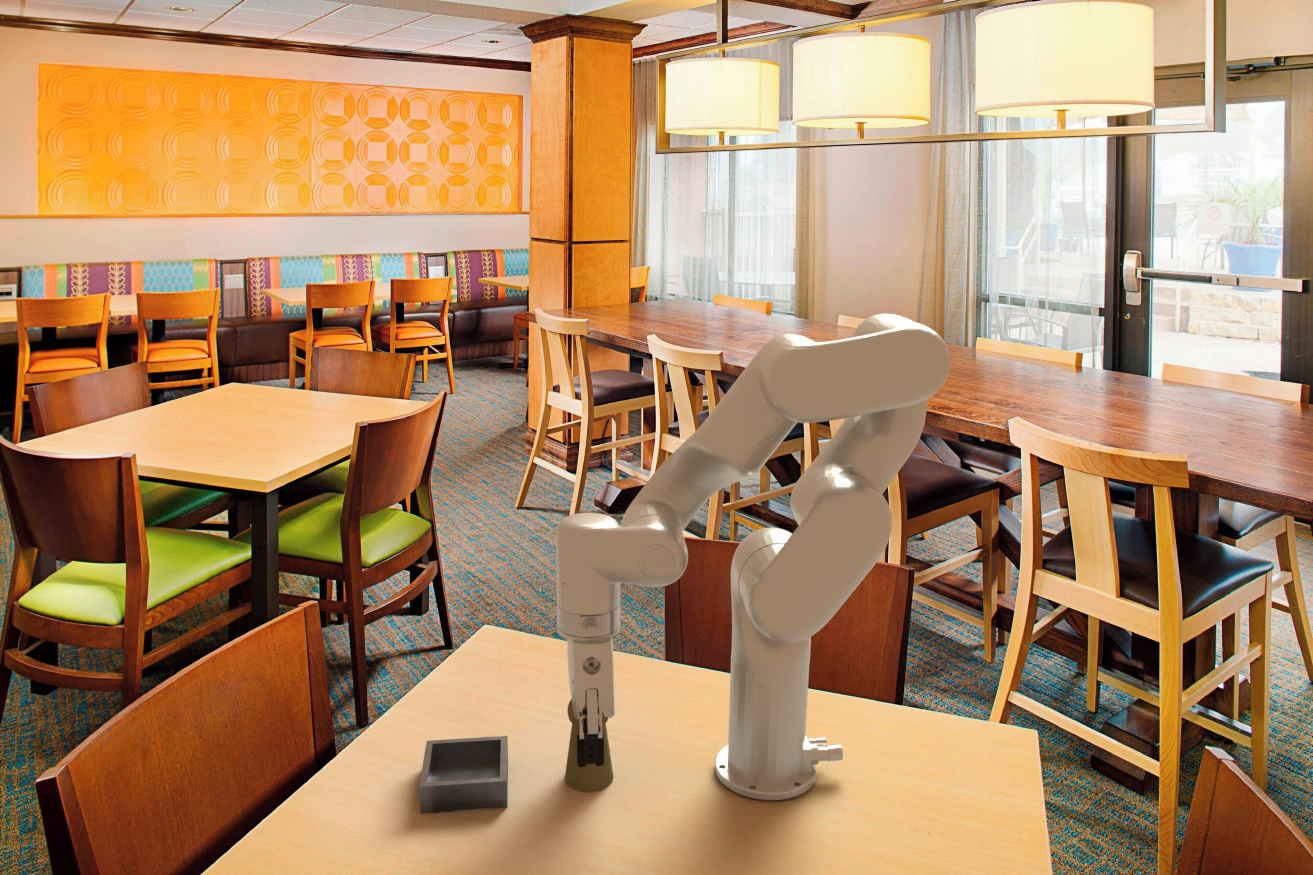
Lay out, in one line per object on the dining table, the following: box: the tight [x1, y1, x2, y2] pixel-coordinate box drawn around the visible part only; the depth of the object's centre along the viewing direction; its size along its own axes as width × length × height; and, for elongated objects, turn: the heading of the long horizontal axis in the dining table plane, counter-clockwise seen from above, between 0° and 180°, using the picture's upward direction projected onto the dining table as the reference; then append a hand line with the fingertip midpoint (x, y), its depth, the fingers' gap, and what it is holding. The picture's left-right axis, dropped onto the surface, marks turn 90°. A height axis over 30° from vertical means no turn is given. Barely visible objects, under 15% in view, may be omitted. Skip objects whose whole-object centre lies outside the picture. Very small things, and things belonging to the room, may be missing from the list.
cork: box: [564, 699, 615, 793], centre depth 121 cm, size 6×6×11 cm
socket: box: [418, 735, 509, 814], centre depth 120 cm, size 10×10×4 cm
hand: (589, 753), depth 121 cm, fingers closed on cork, 3 cm apart
